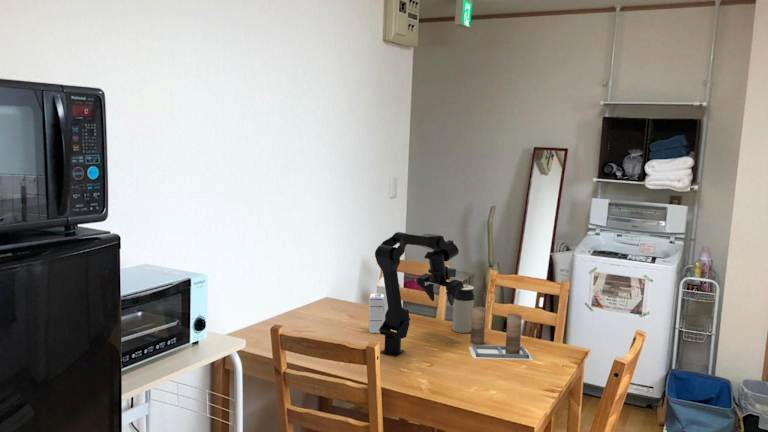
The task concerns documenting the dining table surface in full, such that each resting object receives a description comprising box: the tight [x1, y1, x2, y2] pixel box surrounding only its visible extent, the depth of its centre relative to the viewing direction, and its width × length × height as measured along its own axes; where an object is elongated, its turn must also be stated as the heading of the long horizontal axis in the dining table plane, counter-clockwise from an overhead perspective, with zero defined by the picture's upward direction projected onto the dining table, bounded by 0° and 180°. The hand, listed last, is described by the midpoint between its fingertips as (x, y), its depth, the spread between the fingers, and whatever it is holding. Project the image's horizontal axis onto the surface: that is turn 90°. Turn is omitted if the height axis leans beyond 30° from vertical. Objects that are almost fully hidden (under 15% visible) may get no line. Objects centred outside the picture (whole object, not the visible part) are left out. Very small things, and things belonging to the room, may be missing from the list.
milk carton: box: [375, 274, 401, 321], centre depth 267 cm, size 7×7×19 cm
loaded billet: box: [505, 313, 523, 354], centre depth 226 cm, size 5×5×14 cm
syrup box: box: [368, 293, 384, 334], centre depth 251 cm, size 6×6×14 cm
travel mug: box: [452, 284, 475, 334], centre depth 255 cm, size 8×8×18 cm
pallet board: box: [468, 344, 534, 361], centre depth 227 cm, size 21×12×2 cm, turn 90°
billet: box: [470, 306, 487, 345], centre depth 238 cm, size 5×5×14 cm
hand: (442, 303), depth 245 cm, fingers open, 9 cm apart
